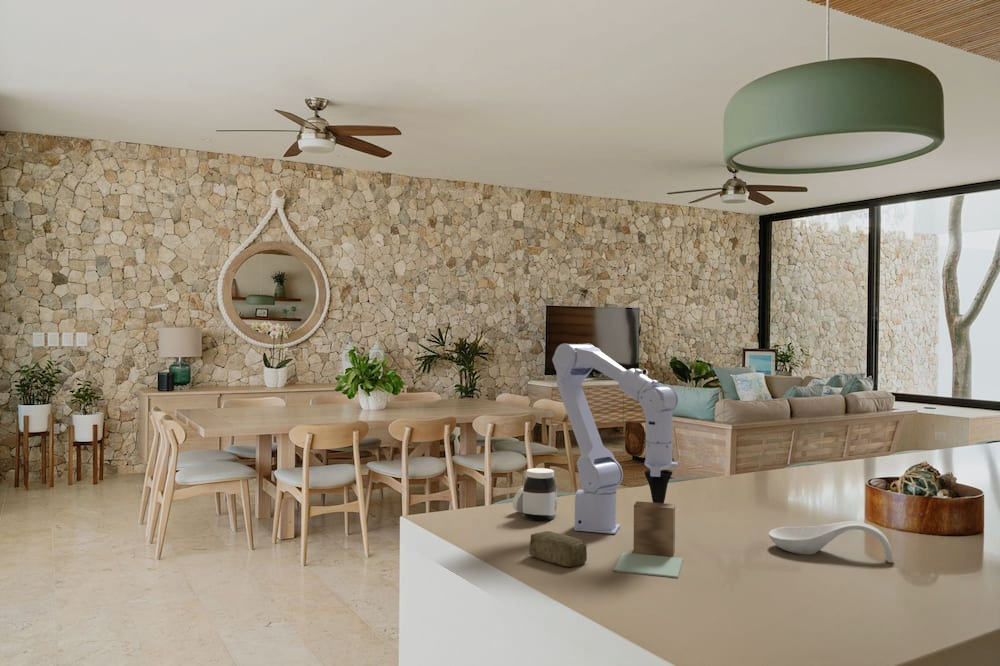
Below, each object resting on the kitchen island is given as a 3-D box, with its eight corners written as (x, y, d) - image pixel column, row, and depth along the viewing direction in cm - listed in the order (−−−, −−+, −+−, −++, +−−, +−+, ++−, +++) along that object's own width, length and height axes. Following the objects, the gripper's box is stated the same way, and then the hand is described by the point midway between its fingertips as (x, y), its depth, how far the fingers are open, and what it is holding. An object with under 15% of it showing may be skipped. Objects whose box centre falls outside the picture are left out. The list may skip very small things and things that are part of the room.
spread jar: (549, 523, 177) (550, 475, 177) (504, 519, 181) (505, 471, 181) (561, 512, 189) (562, 466, 189) (519, 509, 192) (519, 464, 192)
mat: (613, 571, 141) (613, 569, 141) (623, 553, 153) (623, 552, 153) (677, 577, 138) (677, 576, 138) (682, 559, 149) (682, 558, 149)
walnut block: (633, 553, 153) (633, 505, 153) (636, 548, 157) (636, 501, 157) (673, 557, 151) (673, 508, 151) (674, 552, 155) (675, 504, 155)
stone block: (570, 570, 142) (570, 544, 142) (526, 558, 150) (526, 533, 150) (588, 564, 146) (589, 538, 146) (545, 552, 154) (545, 528, 154)
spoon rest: (766, 554, 154) (766, 520, 154) (770, 540, 165) (770, 508, 165) (895, 569, 145) (895, 532, 145) (889, 553, 155) (890, 519, 155)
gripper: (675, 447, 153) (674, 513, 153) (680, 438, 167) (679, 498, 167) (640, 445, 155) (640, 510, 155) (648, 436, 169) (648, 496, 169)
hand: (658, 504), depth 161 cm, fingers closed
